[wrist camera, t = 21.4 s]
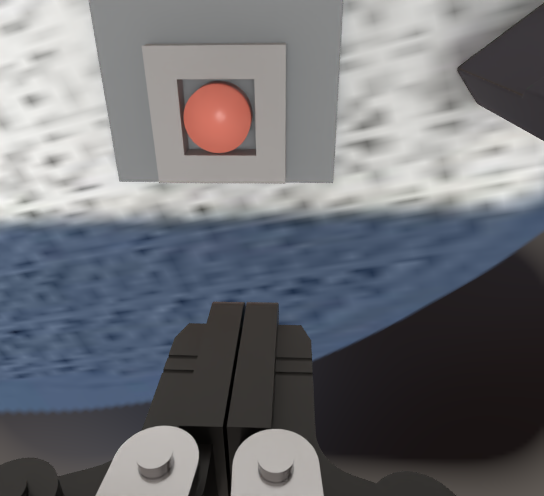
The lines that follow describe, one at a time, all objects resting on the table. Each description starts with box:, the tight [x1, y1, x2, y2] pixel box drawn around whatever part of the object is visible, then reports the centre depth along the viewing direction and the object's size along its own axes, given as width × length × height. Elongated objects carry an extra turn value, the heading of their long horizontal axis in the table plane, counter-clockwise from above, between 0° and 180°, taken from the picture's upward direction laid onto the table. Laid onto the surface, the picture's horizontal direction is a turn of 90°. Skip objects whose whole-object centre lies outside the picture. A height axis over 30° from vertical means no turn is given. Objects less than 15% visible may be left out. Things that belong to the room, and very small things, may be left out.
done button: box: [184, 81, 253, 153], centre depth 32 cm, size 4×4×2 cm
